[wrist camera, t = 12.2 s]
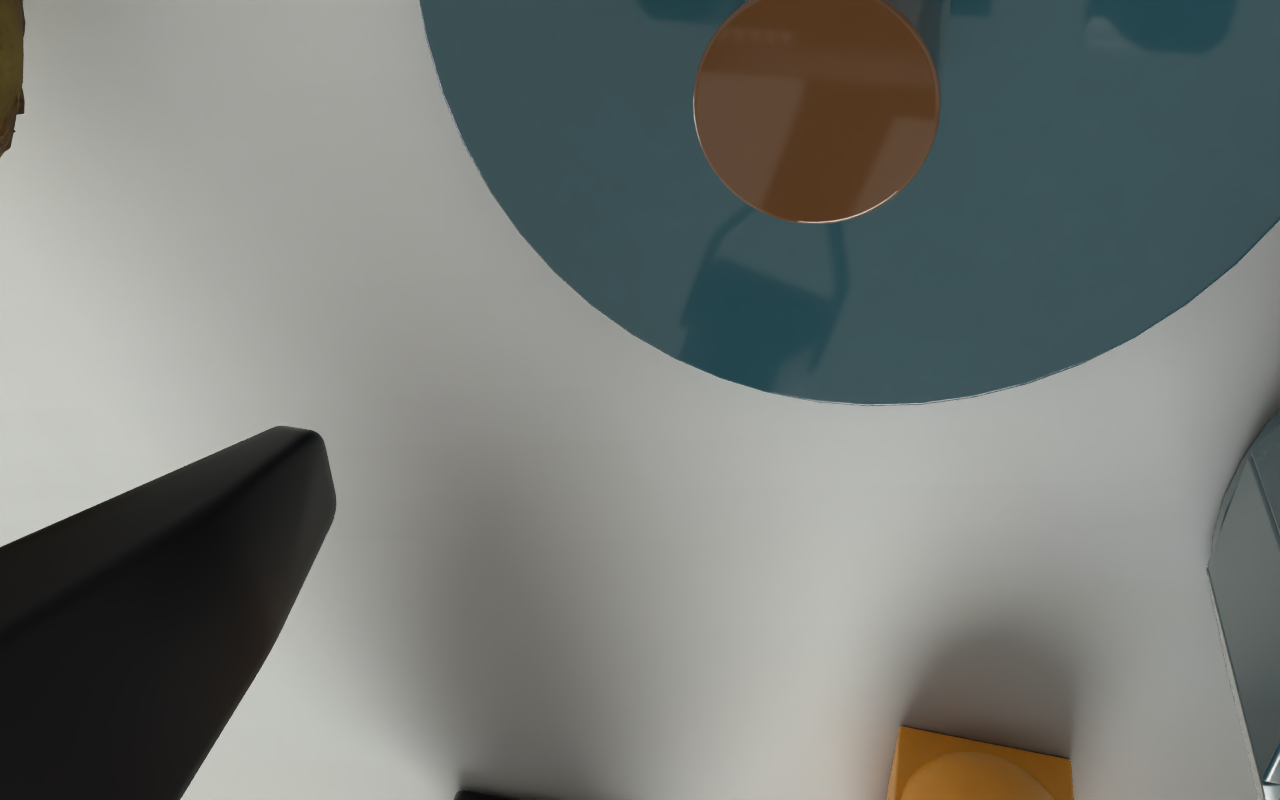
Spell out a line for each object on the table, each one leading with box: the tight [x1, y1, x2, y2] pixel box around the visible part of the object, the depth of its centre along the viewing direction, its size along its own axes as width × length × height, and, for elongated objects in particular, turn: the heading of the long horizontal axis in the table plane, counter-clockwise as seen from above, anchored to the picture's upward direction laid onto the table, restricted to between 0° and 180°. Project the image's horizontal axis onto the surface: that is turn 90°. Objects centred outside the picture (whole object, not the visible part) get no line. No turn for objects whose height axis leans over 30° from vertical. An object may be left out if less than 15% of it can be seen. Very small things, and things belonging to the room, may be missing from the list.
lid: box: [420, 0, 1280, 406], centre depth 16 cm, size 16×16×7 cm
